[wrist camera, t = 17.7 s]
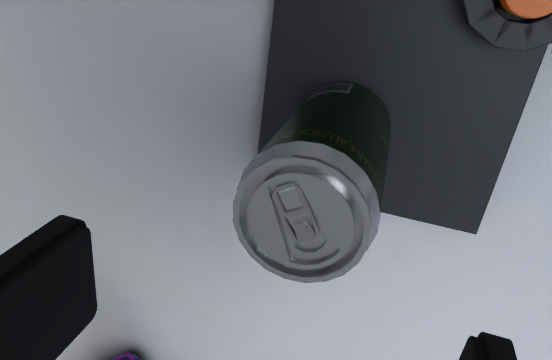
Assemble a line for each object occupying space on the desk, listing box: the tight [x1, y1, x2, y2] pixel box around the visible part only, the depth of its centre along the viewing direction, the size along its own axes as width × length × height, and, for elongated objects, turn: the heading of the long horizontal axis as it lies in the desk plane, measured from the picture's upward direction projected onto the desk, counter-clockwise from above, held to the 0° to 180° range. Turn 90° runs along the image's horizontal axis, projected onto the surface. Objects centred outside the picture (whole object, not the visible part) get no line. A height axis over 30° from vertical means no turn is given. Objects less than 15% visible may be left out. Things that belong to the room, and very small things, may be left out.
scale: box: [258, 0, 552, 234], centre depth 24 cm, size 16×15×3 cm
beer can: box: [233, 81, 391, 283], centre depth 21 cm, size 5×5×12 cm
